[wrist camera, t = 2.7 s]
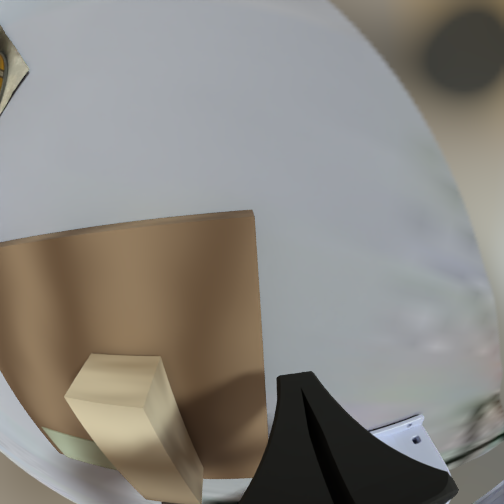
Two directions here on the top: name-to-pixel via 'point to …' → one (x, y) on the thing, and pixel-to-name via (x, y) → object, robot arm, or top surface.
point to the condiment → (9, 69)
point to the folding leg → (138, 425)
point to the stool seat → (142, 327)
